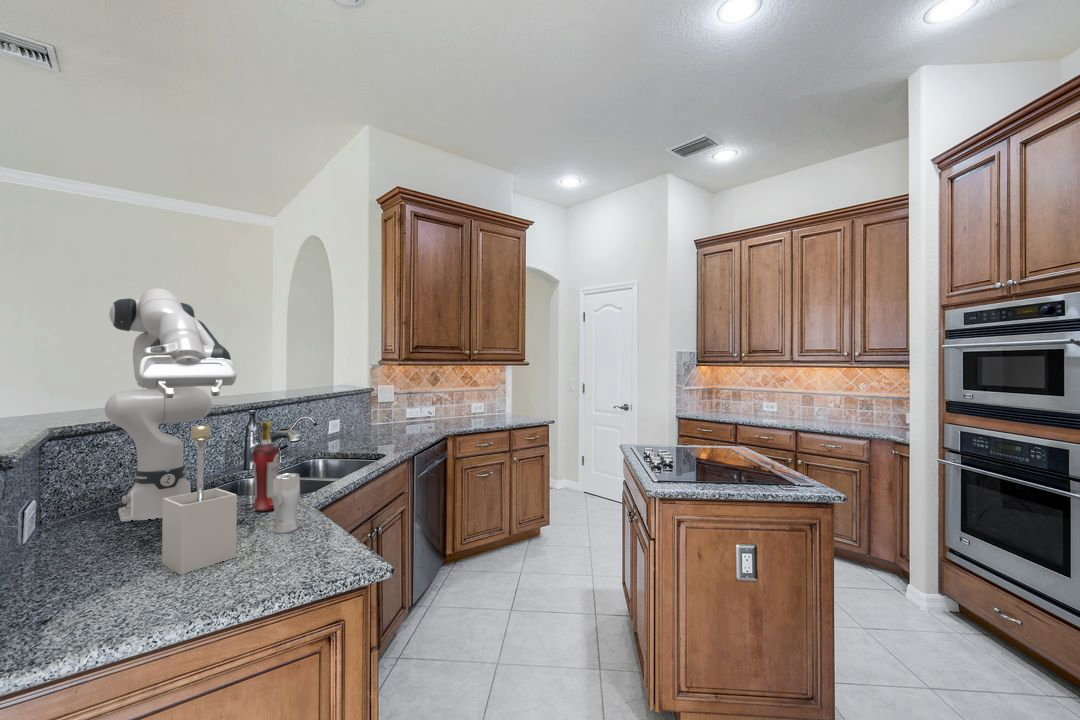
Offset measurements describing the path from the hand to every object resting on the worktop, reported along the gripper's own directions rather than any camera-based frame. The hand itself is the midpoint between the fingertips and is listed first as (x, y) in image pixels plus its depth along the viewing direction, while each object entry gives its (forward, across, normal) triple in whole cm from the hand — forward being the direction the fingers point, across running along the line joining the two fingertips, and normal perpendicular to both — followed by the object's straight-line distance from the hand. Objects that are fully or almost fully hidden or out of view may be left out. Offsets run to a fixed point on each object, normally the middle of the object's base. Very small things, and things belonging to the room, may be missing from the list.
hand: (193, 395), depth 114 cm
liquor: (+10, -23, -44) cm, 51 cm away
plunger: (+25, 0, -13) cm, 28 cm away
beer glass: (+28, -21, -27) cm, 44 cm away
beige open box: (+33, 0, -22) cm, 39 cm away
